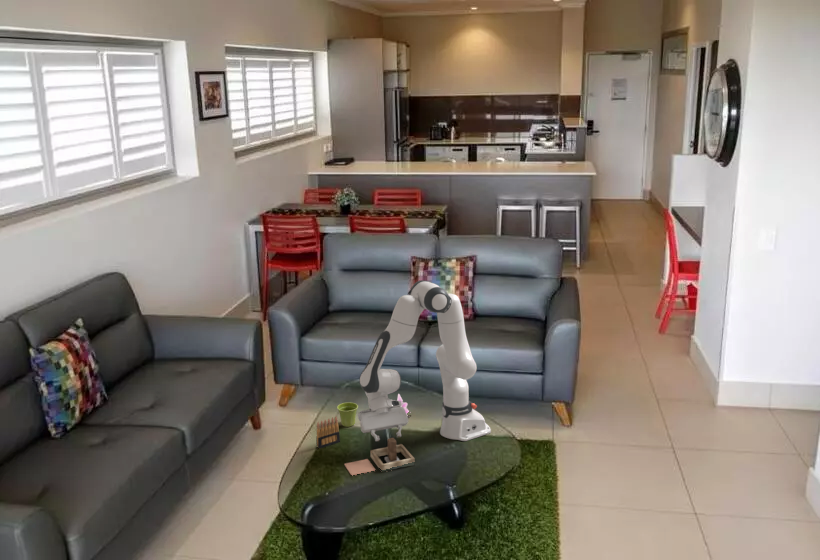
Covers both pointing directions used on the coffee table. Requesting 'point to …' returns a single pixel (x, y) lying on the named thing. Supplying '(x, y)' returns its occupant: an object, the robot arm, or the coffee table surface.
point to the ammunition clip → (327, 433)
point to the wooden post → (391, 451)
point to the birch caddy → (384, 451)
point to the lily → (403, 403)
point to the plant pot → (347, 413)
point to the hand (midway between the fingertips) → (388, 438)
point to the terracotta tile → (359, 467)
